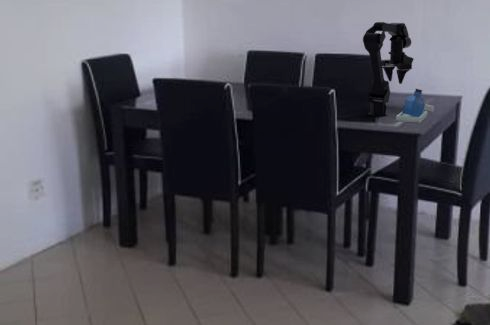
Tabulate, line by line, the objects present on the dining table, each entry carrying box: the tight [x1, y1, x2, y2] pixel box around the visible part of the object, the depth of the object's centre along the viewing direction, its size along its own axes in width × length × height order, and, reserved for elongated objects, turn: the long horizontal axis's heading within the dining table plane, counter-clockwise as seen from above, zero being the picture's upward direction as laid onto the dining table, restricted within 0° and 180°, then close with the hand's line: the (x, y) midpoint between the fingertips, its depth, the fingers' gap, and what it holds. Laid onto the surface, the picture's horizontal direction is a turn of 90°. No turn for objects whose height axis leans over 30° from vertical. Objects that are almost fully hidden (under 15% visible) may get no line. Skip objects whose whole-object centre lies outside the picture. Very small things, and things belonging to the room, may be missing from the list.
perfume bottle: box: [401, 88, 425, 117], centre depth 293 cm, size 6×6×12 cm
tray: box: [395, 110, 429, 124], centre depth 294 cm, size 16×11×2 cm, turn 154°
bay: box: [402, 103, 435, 113], centre depth 311 cm, size 11×9×2 cm
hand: (395, 82), depth 313 cm, fingers open, 9 cm apart
